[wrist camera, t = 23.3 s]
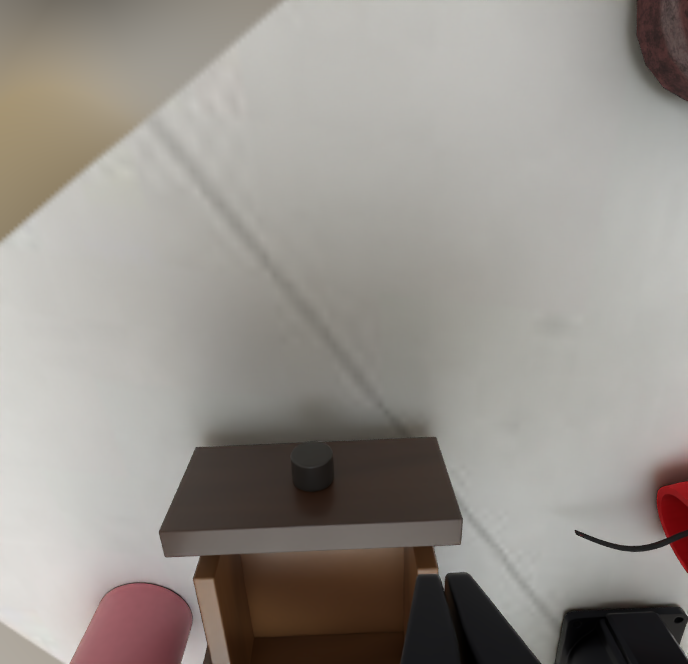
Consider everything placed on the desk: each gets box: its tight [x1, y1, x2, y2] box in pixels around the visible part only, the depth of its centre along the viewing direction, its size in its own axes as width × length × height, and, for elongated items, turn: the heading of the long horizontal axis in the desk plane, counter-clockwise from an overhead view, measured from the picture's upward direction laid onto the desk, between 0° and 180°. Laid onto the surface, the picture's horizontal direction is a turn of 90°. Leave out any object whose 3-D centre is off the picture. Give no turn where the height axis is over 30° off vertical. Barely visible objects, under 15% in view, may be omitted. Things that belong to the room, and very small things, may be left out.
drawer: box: [159, 437, 463, 664], centre depth 21 cm, size 13×10×5 cm
